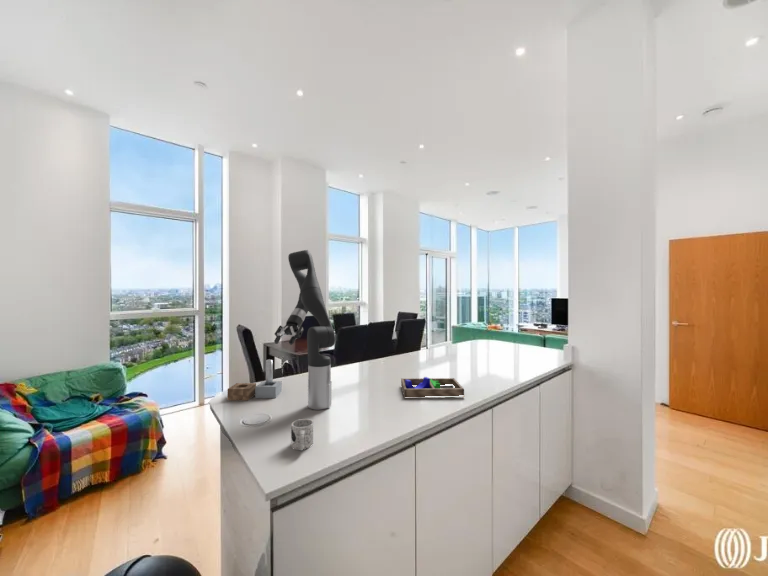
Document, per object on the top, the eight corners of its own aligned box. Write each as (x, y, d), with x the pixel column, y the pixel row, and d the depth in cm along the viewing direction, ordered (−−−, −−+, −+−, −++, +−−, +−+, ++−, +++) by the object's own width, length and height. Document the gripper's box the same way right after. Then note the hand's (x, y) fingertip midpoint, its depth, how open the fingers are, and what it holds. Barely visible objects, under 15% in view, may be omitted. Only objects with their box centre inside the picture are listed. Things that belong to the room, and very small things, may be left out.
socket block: (281, 391, 150) (281, 381, 150) (275, 397, 141) (275, 386, 141) (262, 391, 149) (262, 381, 149) (255, 398, 140) (255, 386, 140)
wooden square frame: (256, 393, 146) (256, 383, 146) (248, 400, 137) (248, 388, 137) (236, 393, 146) (236, 383, 146) (227, 400, 137) (227, 389, 137)
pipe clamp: (441, 395, 145) (441, 385, 145) (433, 395, 145) (433, 385, 145) (437, 388, 157) (437, 378, 157) (429, 388, 156) (429, 378, 156)
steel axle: (273, 393, 147) (273, 359, 147) (271, 395, 144) (271, 360, 144) (266, 393, 147) (267, 359, 147) (264, 395, 144) (265, 360, 144)
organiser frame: (454, 386, 159) (454, 378, 159) (464, 397, 141) (464, 389, 141) (401, 386, 159) (401, 378, 159) (404, 398, 141) (404, 389, 141)
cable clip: (424, 388, 155) (424, 376, 155) (429, 390, 151) (429, 378, 151) (403, 391, 149) (403, 379, 149) (408, 394, 145) (408, 381, 145)
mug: (291, 440, 100) (291, 419, 100) (313, 438, 101) (313, 418, 101) (289, 456, 90) (289, 433, 90) (313, 454, 92) (313, 431, 92)
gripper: (282, 313, 166) (267, 338, 155) (305, 314, 161) (291, 339, 150) (288, 323, 171) (274, 347, 160) (310, 323, 166) (298, 348, 155)
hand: (282, 343), depth 155 cm, fingers open, 8 cm apart
